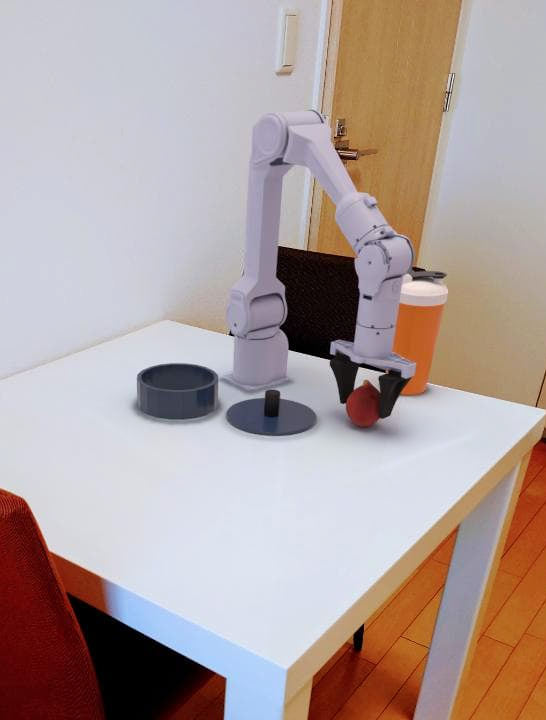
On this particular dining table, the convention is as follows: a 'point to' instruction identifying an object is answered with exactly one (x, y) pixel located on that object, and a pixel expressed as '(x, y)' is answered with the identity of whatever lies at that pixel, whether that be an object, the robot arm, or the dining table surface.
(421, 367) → the shaker bottle
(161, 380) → the pot
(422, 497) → the dining table surface
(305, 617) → the dining table surface
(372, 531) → the dining table surface
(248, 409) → the lid
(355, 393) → the onion
